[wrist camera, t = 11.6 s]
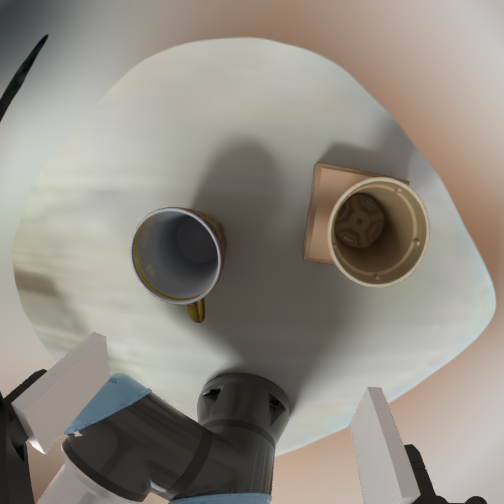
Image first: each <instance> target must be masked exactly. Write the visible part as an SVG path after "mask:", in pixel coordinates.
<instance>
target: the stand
mask: <svg viewBox="0 0 504 504" xmlns="http://www.w3.org/2000/svg"><path fill="white" fill-rule="evenodd" d="M374 177H388V178H393V177H389V176H385V175H380V174H375V173H371V172H366V171H361V170H356V169H351V168H345V167H340V166H334V165H328V164H322V163H317V164H315V166H314V174H313V182H312V190H311V197H310V204H309V211H308V218H307V225H306V232H305V238H304V245H303V251H302V254H303V259H304V260H305V261H312V262H319V263H326V264H333V265H336V264H335V262H334V260H333V258H332V256H331V253H330V250H329V246H328V239H327V230H328V222H329V218H330V215H331V212H332V210H333V208H334V206H335V204H336V202H337V201H338V199H339V198H340V197H341V196H342V195H343V193H344V192H345V191H347V190H348V189H349V188H350V187H352V186H353V185H355V184H356V183H358V182H360V181H363V180H365V179H369V178H374ZM393 179H395V180H398V181H400V182H402V183H404V184H406V185H408V186H409V181H406V180H402V179H398V178H393ZM366 202H367V203H368V205H371V206H372V207H373V204H372V203H371V202H369V201H368V200H366ZM345 208H346V207H345V206H344V205H343V206H342V207H341V208H340V209H339V211H338V215H340V216H341V215H342V213H343V211H344V210H345ZM361 222H362V221H361V220H359V221H358V223H361ZM379 231H380V227H378V228H377V230H376V232H375V234H374V235H373V237H376V236H377V235H378V233H379ZM343 239H344V240H346V241H348V242H352V243H353V240H351V239H349V238H348V237H347V236H344V237H343Z"/></svg>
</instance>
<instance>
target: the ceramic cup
mask: <svg viewBox="0 0 504 504" xmlns="http://www.w3.org/2000/svg"><path fill="white" fill-rule="evenodd" d="M226 246H227V242H226V238H225V235H224V231H223V227H222V224H221V223H220V222H218V221H217V220H215V219H214V218H212V217H210V216H209V215H207V214H205V213H203V212H198V211H194V210H191V209H187V208H180V207H168V208H162V209H158V210H156V211H154V212H152V213H150V214H149V215H147V216H146V217H145V218H144V219H143V220H142V221H141V222H140V223H139V224H138V226H137V228H136V229H135V231H134V234H133V236H132V240H131V246H130V257H131V263H132V266H133V269H134V272H135V274H136V276H137V278H138V280H139V281H140V283H141V284H142V285H143V287H144V288H145V289H146V290H147V291H148V292H149V293H150V294H152V295H153V296H155V297H156V298H158V299H160V300H162V301H164V302H167V303H171V304H177V305H185V304H187V309H188V312H189V315H190V317H191V318H192V320H193V321H194V322H197V323H200V322H202V321H203V320H204V318H205V304H204V297H206V296H207V295H208V294H209V293H210V292H211V291H212V290H213V289H214V287H215V285H216V284H217V282H218V280H219V277H220V274H221V272H222V269H223V264H224V259H225V251H226ZM198 301H199V308H198ZM199 310H200V314H199Z"/></svg>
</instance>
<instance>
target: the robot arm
mask: <svg viewBox="0 0 504 504" xmlns="http://www.w3.org/2000/svg"><path fill="white" fill-rule="evenodd" d="M197 414H198V423H197V422H196V421H194V420H192V419H191V418H189V417H188V416H186V415H184V414H183V413H181V412H180V411H178V410H177V409H175V408H174V407H172V406H171V405H169V404H168V403H167V402H165V401H164V400H162V399H161V398H159V397H158V396H157V395H155V394H154V393H153V392H152V390H151V389H149V388H145V387H144V386H143V385H141V384H140V383H138V382H137V381H135V380H134V379H132V378H131V377H130V376H128V375H126V374H123V373H116V374H113V375H111V376H110V369H109V361H108V353H107V344H106V336H103V335H101V334H98V333H95V332H94V333H92V334H91V335H90V336H89V337H88V338H86V339H85V340H84V341H83V342H81V343H80V344H79V345H78V346H77V347H75V348H74V349H73V350H72V351H71V352H70V353H68V354H67V355H66V356H65V357H64V358H62V359H61V360H60V361H59V362H58V363H57V364H56V365H54V366H53V367H52V368H51V369H49V371H47V370H45V369H42V370H40V371H37V372H35V373H33V374H32V375H31V376H30V377H29V378H28V379H26V380H25V381H24V382H23V383H22V384H20V385H19V386H18V387H17V388H16V389H14V390H13V391H12V392H11V393H10V394H9V395H8V396H6V397H5V398H4V399H3V397H2V394H1V392H0V504H35V503H34V498H33V492H32V487H31V480H30V473H29V465H28V454H27V446H26V443H25V442H26V441H27V439H28V438H29V440H30V442H31V444H32V446H33V447H35V448H36V449H37V450H39V451H40V452H42V453H44V454H46V453H47V452H48V451H49V450H50V448H51V447H52V446H53V445H54V444H55V442H56V441H57V440H58V439H59V437H60V436H61V435H62V434H63V433H64V434H66V435H68V437H67V438H66V439H65V441H64V442H63V444H62V445H61V450H62V454H63V457H64V460H65V463H64V465H63V466H62V467H61V469H60V470H59V472H58V473H57V475H56V476H55V477H54V479H53V480H52V482H51V483H50V484H49V486H48V488H47V489H46V490H45V492H44V493H43V495H42V496H41V497H40V499H39V500H38V502H37V503H36V504H139V503H141V502H143V500H144V499H145V498H146V496H147V495H148V494H149V493H150V492H152V493H155V494H157V495H159V496H161V497H163V498H165V499H166V500H168V501H169V503H168V504H269V503H270V501H271V499H272V498H271V491H272V480H273V469H274V457H275V447H276V444H277V442H278V440H279V438H280V437H281V435H282V433H283V431H284V429H285V427H286V426H287V423H288V420H289V402H288V399H287V397H286V395H285V394H284V392H283V391H282V390H281V389H280V388H279V387H278V386H276V385H275V384H273V383H272V382H270V381H268V380H266V379H264V378H261V377H258V376H254V375H250V374H241V373H234V374H226V375H222V376H219V377H216V378H214V379H212V380H211V381H210V382H208V383H207V384H206V385H205V386H204V388H203V390H202V392H201V394H200V396H199V399H198V403H197ZM349 427H350V432H351V437H352V442H353V447H354V452H355V457H356V462H357V467H358V473H359V478H360V483H361V489H362V495H363V501H364V504H487V502H486V501H485V500H484V499H483V498H482V497H478V496H473V497H471V498H469V499H468V500H467V501H466V502H465V503H448V502H447V501H446V500H445V499H444V498H443V497H441V496H437V495H436V494H435V492H434V489H433V486H432V483H431V481H430V478H429V475H428V473H427V470H426V469H425V465H424V462H423V460H422V457H421V455H420V452H419V451H418V450H417V449H416V448H415V446H414V445H412V444H410V445H403V442H402V440H401V437H400V434H399V431H398V429H397V426H396V424H395V421H394V418H393V416H392V414H391V411H390V408H389V406H388V403H387V401H386V398H385V396H384V394H383V391H382V389H381V388H376V387H367V389H366V391H365V393H364V395H363V398H362V400H361V402H360V404H359V406H358V408H357V410H356V412H355V414H354V416H353V418H352V420H351V422H350V424H349Z"/></svg>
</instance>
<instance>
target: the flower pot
mask: <svg viewBox="0 0 504 504" xmlns="http://www.w3.org/2000/svg"><path fill="white" fill-rule="evenodd" d="M366 200H368V201H369V202H371V203H372V204H373V207H372V206H371V205H368V203H367V202H366ZM343 205H344V206H345V207H346V208H345V210H344V211H343V213H342V215H341V216H340V215H338V211H339V209H340V208H341V207H342V206H343ZM359 220H361V221H362V222H361V223H358V221H359ZM378 227H380V231H379V233H378V235H377V236H376V237H373V235H374V234H375V232H376V230H377V228H378ZM429 230H430V226H429V219H428V215H427V211H426V208H425V206H424V204H423V202H422V200H421V199H420V197H419V196H418V195H417V194H416V193H415V192H414V190H413V189H411V188H410V187H409V186H408V185H406V184H404V183H402V182H400V181H398V180H395V179H393V178H388V177H374V178H369V179H365V180H363V181H360V182H358V183H356V184H355V185H353V186H352V187H350V188H349V189H348V190H347V191H345V192H344V193H343V195H342V196H341V197H340V198H339V199H338V201H337V202H336V204H335V206H334V208H333V210H332V212H331V215H330V218H329V222H328V230H327V239H328V246H329V250H330V253H331V256H332V258H333V260H334V262H335V264H336V266H337V267H338V268H339V270H340V271H341V272H342V273H343V274H344V275H345V276H346V277H348V278H349V279H351V280H352V281H354V282H356V283H358V284H360V285H363V286H367V287H374V288H378V287H388V286H391V285H394V284H396V283H398V282H400V281H402V280H404V279H405V278H407V277H408V276H409V275H410V274H411V273H412V272H413V271H414V270H415V269H416V268H417V266H418V265H419V264H420V262H421V260H422V258H423V256H424V254H425V252H426V249H427V246H428V241H429V233H430V231H429ZM344 236H347V237H348V238H349V239H351V240H353V243H352V242H348V241H346V240H344V239H343V237H344Z"/></svg>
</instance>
